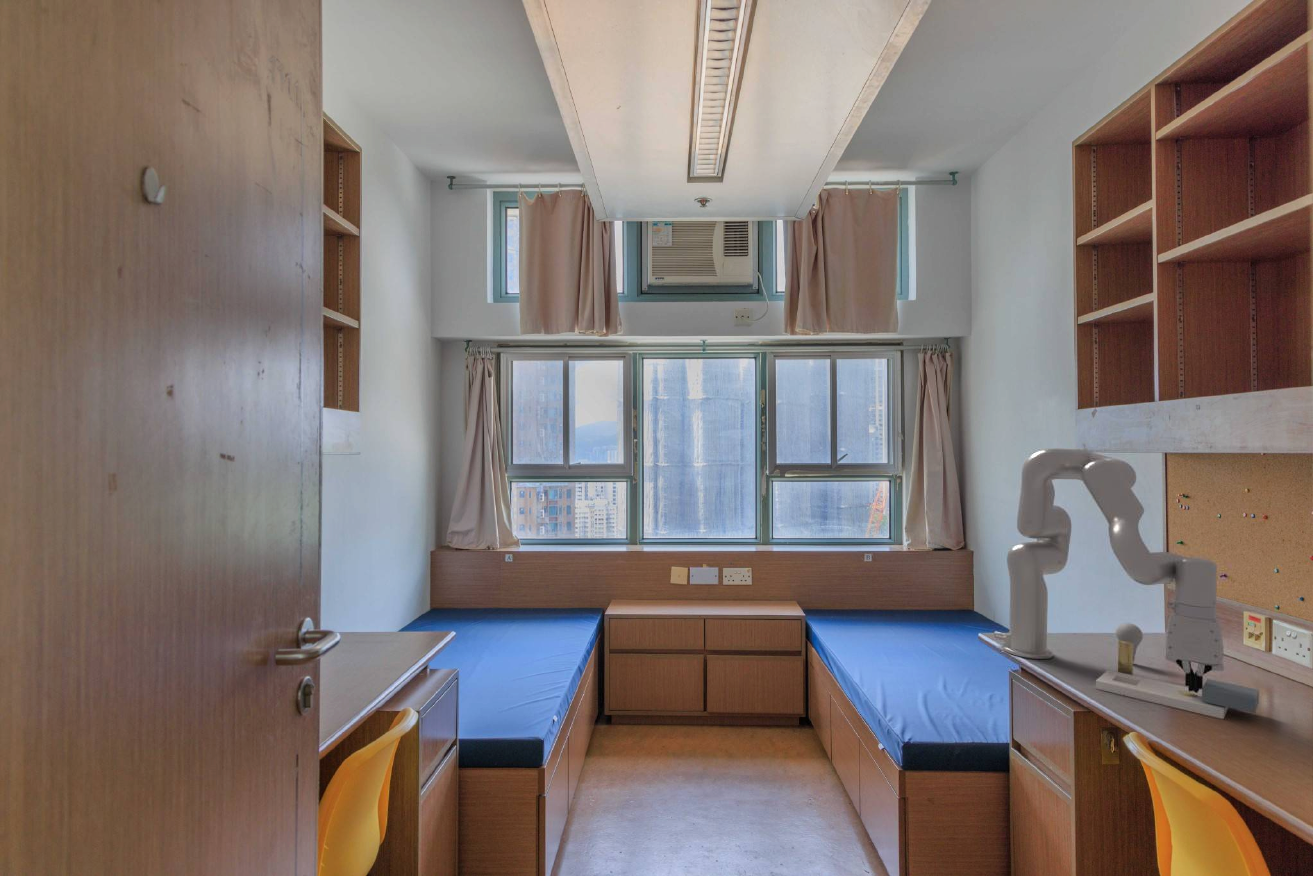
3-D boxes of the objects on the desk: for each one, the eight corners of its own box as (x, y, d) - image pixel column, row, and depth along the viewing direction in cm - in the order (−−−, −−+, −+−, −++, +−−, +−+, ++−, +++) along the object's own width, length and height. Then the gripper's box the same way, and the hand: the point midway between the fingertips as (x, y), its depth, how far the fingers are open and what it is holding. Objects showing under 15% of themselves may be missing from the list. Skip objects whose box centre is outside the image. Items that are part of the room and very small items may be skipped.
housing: (1201, 701, 151) (1202, 688, 151) (1207, 691, 157) (1207, 678, 157) (1255, 713, 145) (1255, 699, 145) (1258, 703, 151) (1258, 689, 151)
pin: (1116, 677, 173) (1117, 642, 173) (1119, 674, 176) (1119, 640, 176) (1131, 680, 171) (1131, 645, 171) (1133, 677, 173) (1134, 642, 173)
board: (1095, 688, 164) (1096, 680, 164) (1107, 677, 173) (1107, 669, 173) (1223, 719, 147) (1223, 709, 147) (1229, 705, 156) (1229, 696, 156)
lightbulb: (1116, 664, 184) (1117, 624, 184) (1113, 658, 189) (1114, 619, 189) (1144, 668, 181) (1144, 627, 181) (1140, 662, 186) (1140, 622, 187)
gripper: (1152, 607, 158) (1151, 685, 158) (1235, 620, 148) (1234, 704, 148) (1158, 603, 164) (1157, 678, 163) (1239, 615, 153) (1238, 696, 153)
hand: (1193, 690), depth 156 cm, fingers closed
